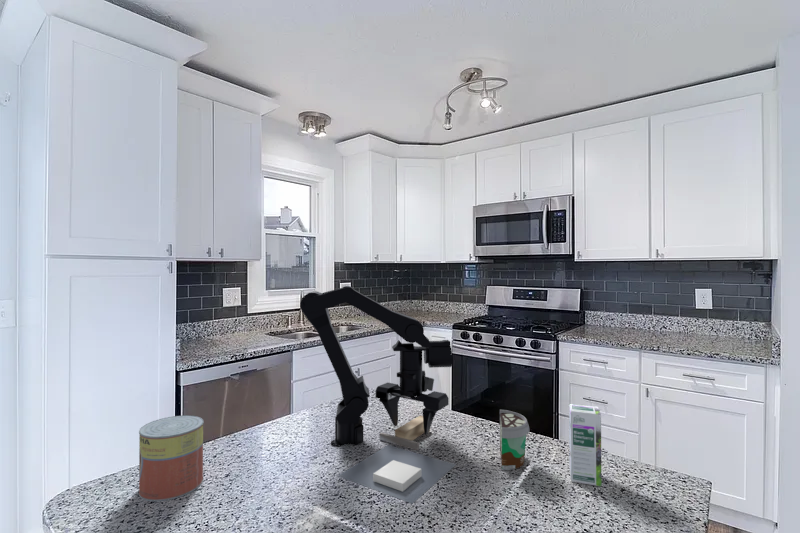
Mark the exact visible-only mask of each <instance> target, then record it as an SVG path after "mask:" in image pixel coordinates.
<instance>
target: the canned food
mask: <svg viewBox="0 0 800 533" xmlns="http://www.w3.org/2000/svg"><path fill="white" fill-rule="evenodd" d="M204 423H205V422H204V419H203V418H202V417H200V416H198V415H197V416H196V415H187V414H186V415H173V416H168V417H164V418H158V419H156V420H152V421H150V422H148V423H145V425H142V426H141V427H140V428H139V430H138V434H139V441H138V442H139V447H138V448H139V449H138V450H139V453H138V454H139V456H138V457H139V464H138V465H139V470H138V475H139V476H138V479H139V481H138V485H139V486H138V496H139V498H141V499H142V500H144V501H148V502H164V501H165V502H166V501H170V500H175V499H177V498H178V499H179V498H182V497H184V496H186V495H189V494H190V493H193V492H194V491H196V490H197V489H198V488H200V486H201V485H203V481H204V472H203V471H204V470H203V469H204Z"/></svg>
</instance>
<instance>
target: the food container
mask: <svg viewBox="0 0 800 533" xmlns="http://www.w3.org/2000/svg"><path fill="white" fill-rule="evenodd" d="M529 433H530V426H529V422H528V419H527V418H526V417H525V416H524V415H522V414H521V413H518V412H517V411H516V412H515V411H511V410H507V409H499V451H500V452H499V453H500V462H501V470H505V471H509V470H516V469H519V468H521V467H523V466H524V464H525V455H526V442H527V435H528V434H529Z"/></svg>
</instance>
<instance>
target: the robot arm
mask: <svg viewBox="0 0 800 533" xmlns="http://www.w3.org/2000/svg"><path fill="white" fill-rule="evenodd" d="M344 303H346V304H348V305H350V306H352V307H353V308H356V309H357V310H359V311H361V312H363V313H365V314H366V315H368V316H369V317H370V316H371V318H374V319H375V320H378V322H381V323H383V324H384V325H386V326H387V327H389V328H390V329H391V330H392V331H393V332H394V333H395V334H397V335H398V336H400V338H401V339H403V340H404V341H405V342H407V343H403V342H401V340H398V339H397V342H396V343H394V345H392V346H391V349H392V351H393V352H399V372H398V371H397V372H396V377H397V378H399V384H397V383H392V382H385V383H383V384H380V385H377V387H376V389H375V392H374V394H375V395H374V396H375V398H376V399H379V402H380V403H381V404H382V406H383V407H384V408H385V410H386V412H387V414H388V416H389V418H390V421H391V423H392V424H393V427H397V426H398V422H399V403H400V402H399V401H400V398H402V399H407V400H412V401H416V402H421V403H423V406H424V408H422V416H423V424H424V432H425V433H424V434H425V435H427V434H429V433H430V432H429V430H430V431H431V426H432V423H433V420H434V418H435V416H436V414H437V413H438V411H440V410H443V408H445V407H447V406H449V402H450V401H449V396H448V395H447V393H445V392H439V391H435V390H434V389H433V388H434V383H435V379H434V378H432V377H429V376H426V371H425V370H423V362H424V364H427V365H428V368H429V369H430V368H452V367H453V364H454V355H453V352H452V350H453V349H452V346H451V341H450V340H449V339H443V340H430V339H429V338H428V337H427V336H426V335H425V333H424V330H425V329H424V326H423V324H422V323H421V322H420V321H419V320H417V319H416V318H415V317H413V316H410V315H407V314H403V313H400V312H398V311H393V310H392V309H390V308H388V307H386V306H385V305H382V304H381V303H379V302H378V301H376V300H373V299H372V298H370V297H368V296H366V295H365V294H363V293H361V292H359V291H358V290H355V289H354V288H353V287H352V286H349V285H344V286H342V287H341V288H336V289H333V290H329V291H325V292H320V291H317V290H315V291H310V292H307V293H306V294H305V295H303V297H302V298H301V300H300V302H299V305H300V311H302V313H303V314H304V317H305V318H306V319H307V321H308V322H309V323H310V324H311V325H312V327H313V328H314V329H315V330H316V332H317V335H318V337H319V338H320V341H321V343H322V345H323V348H324V349H325V352H326V354H327V357H328V359H329V361H330V364H331V365H332V367H333V370H334V372H335V375H336V377H337V379H338V380H339V385H340V390H341V395H342V400H341V401H339V403H338V404H337V406H336V408H337V409H336V416H335V417H334V435H335V436H334V439H332V440H331V441H330V444H331V445H333V446H336V447H342V446H345V445H353V446H355V445H356V446H358V445H359V444H361V443H363V442H364V425H363V417H362V415H363V414H364V413H365V412H367V411H368V408H369V398H370V388H369V387H368V386H367V385H366V383H365V379H364V376H363V375H360V376H359V377H358V376H357V375H356V374H355V372H354V371H353V368H352V367H351V364H350V362H349V360H348V358H347V356H346V353H345V351H344V349H343V347H342V344H341V342H340V340H339V337H338V335H337V333H336V330H335V328H334V327H333V324H332V320H331V317H330V316H331V315H330V310H329V308H332V307H336V306H339V305H342V304H344ZM414 343H416V344H418V345H419V346H418V345H416V346H415V345H414ZM428 391H431V392H430V393H428V394H426V392H428Z"/></svg>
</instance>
